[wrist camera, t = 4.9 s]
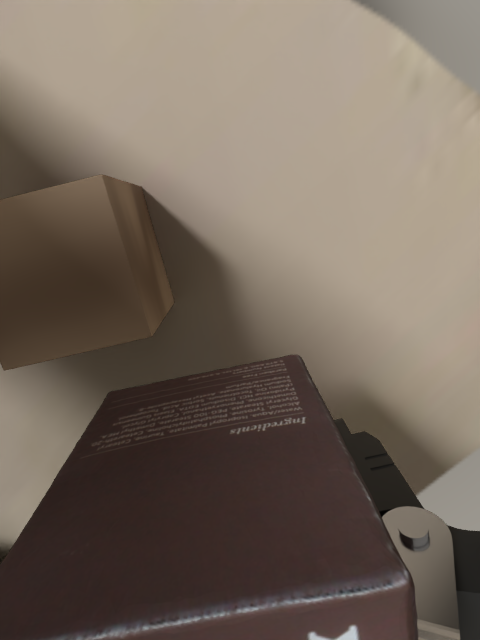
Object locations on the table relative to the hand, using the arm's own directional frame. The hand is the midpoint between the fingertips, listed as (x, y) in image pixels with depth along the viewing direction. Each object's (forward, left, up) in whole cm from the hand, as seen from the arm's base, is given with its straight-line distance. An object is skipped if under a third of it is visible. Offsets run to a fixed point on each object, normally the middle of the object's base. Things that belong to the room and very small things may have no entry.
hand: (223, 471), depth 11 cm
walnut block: (-7, -4, -7) cm, 10 cm away
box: (0, 0, -1) cm, 1 cm away
